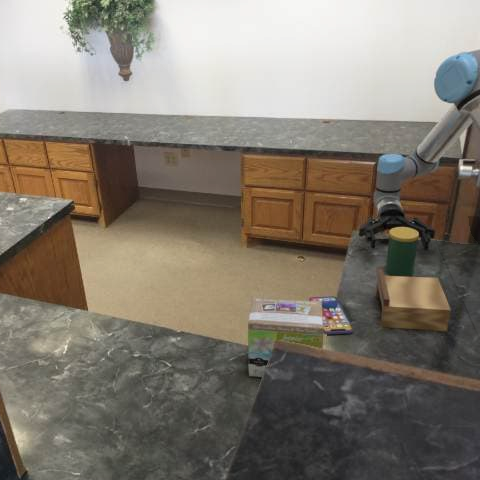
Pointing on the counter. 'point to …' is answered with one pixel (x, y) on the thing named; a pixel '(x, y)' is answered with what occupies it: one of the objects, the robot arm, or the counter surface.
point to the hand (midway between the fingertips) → (399, 245)
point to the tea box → (281, 327)
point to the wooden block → (412, 302)
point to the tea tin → (401, 251)
